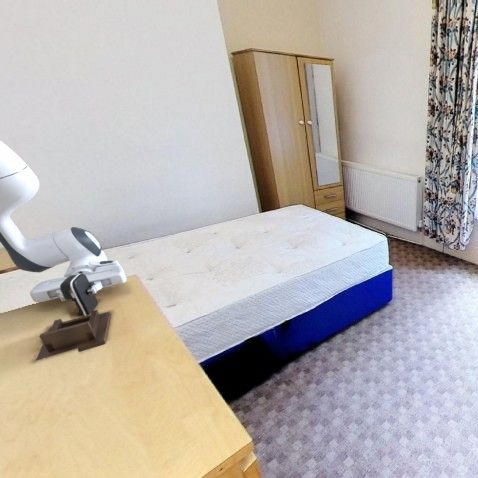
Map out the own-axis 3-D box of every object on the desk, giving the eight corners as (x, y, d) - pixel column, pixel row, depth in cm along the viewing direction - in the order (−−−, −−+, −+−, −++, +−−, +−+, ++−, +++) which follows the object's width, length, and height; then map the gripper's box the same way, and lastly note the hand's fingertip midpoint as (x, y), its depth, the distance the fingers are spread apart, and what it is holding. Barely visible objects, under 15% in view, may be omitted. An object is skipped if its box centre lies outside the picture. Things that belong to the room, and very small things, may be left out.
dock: (38, 363, 77) (26, 343, 74) (52, 330, 88) (42, 311, 85) (105, 343, 84) (96, 324, 81) (111, 314, 95) (103, 297, 92)
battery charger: (83, 305, 98) (67, 273, 93) (99, 303, 99) (85, 271, 95) (72, 319, 92) (55, 285, 88) (89, 315, 94) (73, 282, 89)
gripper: (32, 276, 95) (18, 297, 86) (123, 258, 107) (120, 276, 97) (42, 293, 98) (29, 316, 88) (129, 275, 110) (127, 293, 100)
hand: (78, 295), depth 93 cm, fingers closed on battery charger, 4 cm apart
